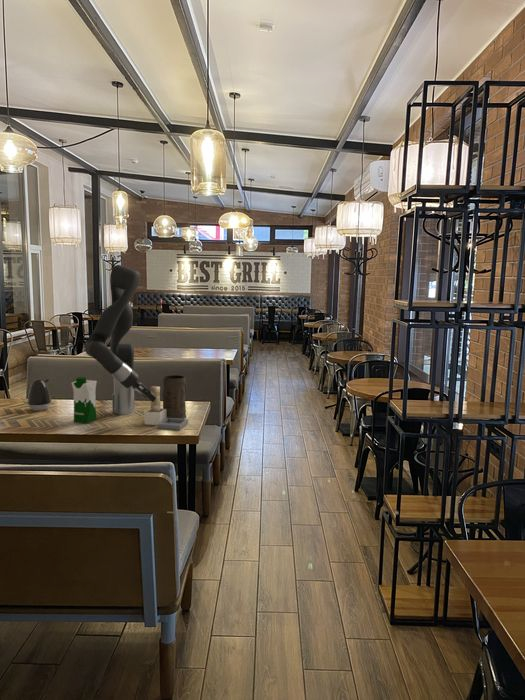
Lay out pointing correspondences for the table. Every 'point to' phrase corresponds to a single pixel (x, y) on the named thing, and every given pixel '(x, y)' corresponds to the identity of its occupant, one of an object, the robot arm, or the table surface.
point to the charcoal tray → (173, 424)
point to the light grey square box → (154, 417)
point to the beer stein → (174, 396)
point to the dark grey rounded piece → (39, 395)
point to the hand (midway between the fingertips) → (151, 398)
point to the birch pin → (156, 404)
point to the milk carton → (84, 400)
